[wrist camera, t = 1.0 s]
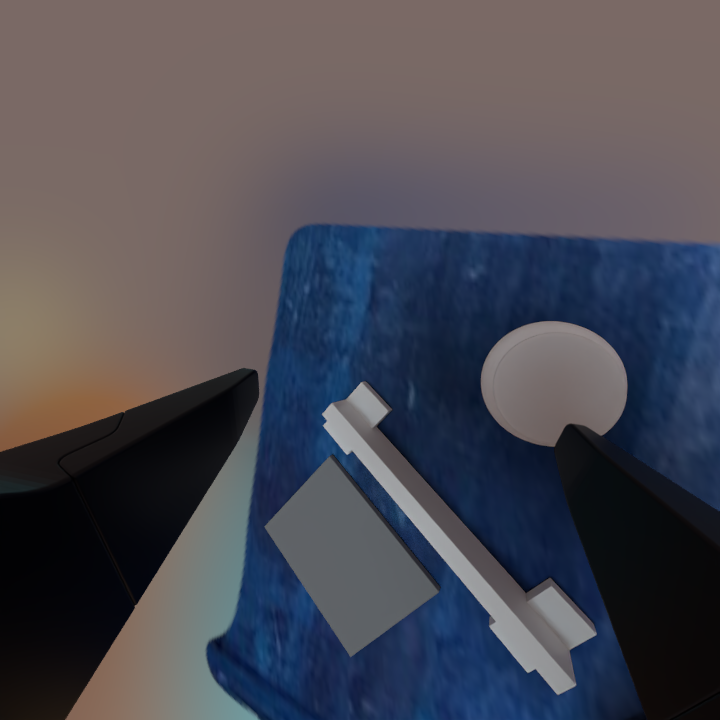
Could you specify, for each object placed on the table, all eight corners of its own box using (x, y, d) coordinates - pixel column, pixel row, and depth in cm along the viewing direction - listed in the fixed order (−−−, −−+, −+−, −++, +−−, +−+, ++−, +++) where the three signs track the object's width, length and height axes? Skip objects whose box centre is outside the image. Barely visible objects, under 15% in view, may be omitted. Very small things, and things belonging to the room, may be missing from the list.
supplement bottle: (512, 319, 20) (513, 288, 11) (608, 353, 18) (701, 348, 9) (475, 394, 21) (449, 420, 12) (562, 435, 19) (606, 502, 10)
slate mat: (440, 587, 22) (439, 592, 22) (353, 651, 25) (350, 656, 25) (332, 454, 26) (329, 456, 26) (268, 524, 29) (264, 526, 28)
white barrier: (593, 623, 18) (607, 669, 16) (527, 661, 20) (529, 709, 17) (365, 381, 25) (348, 384, 22) (328, 424, 26) (307, 431, 23)
